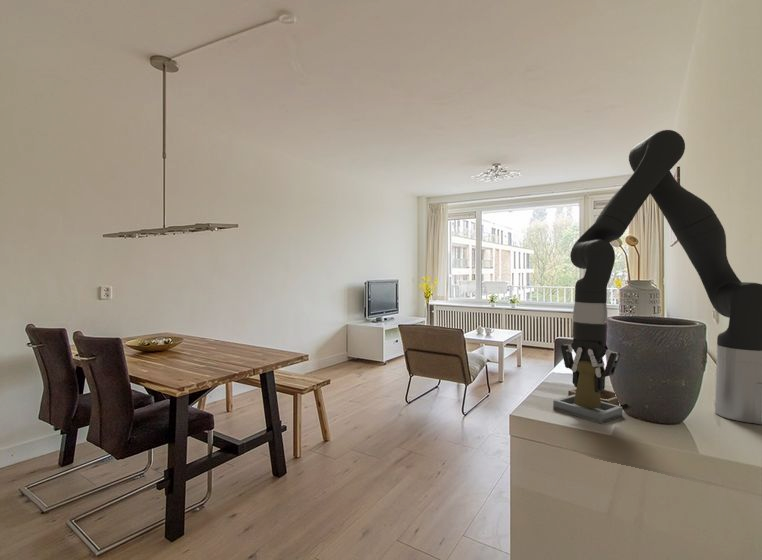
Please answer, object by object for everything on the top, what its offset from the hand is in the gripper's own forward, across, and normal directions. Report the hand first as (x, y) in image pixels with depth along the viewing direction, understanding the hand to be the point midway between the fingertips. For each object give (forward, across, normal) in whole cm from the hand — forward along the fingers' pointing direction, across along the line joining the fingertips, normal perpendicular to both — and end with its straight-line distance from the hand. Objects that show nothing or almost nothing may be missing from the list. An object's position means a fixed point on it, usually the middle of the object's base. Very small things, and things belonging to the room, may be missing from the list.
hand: (587, 388), depth 98 cm
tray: (+6, 0, 0) cm, 6 cm away
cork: (+4, 0, 0) cm, 4 cm away
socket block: (+6, +3, -11) cm, 13 cm away
